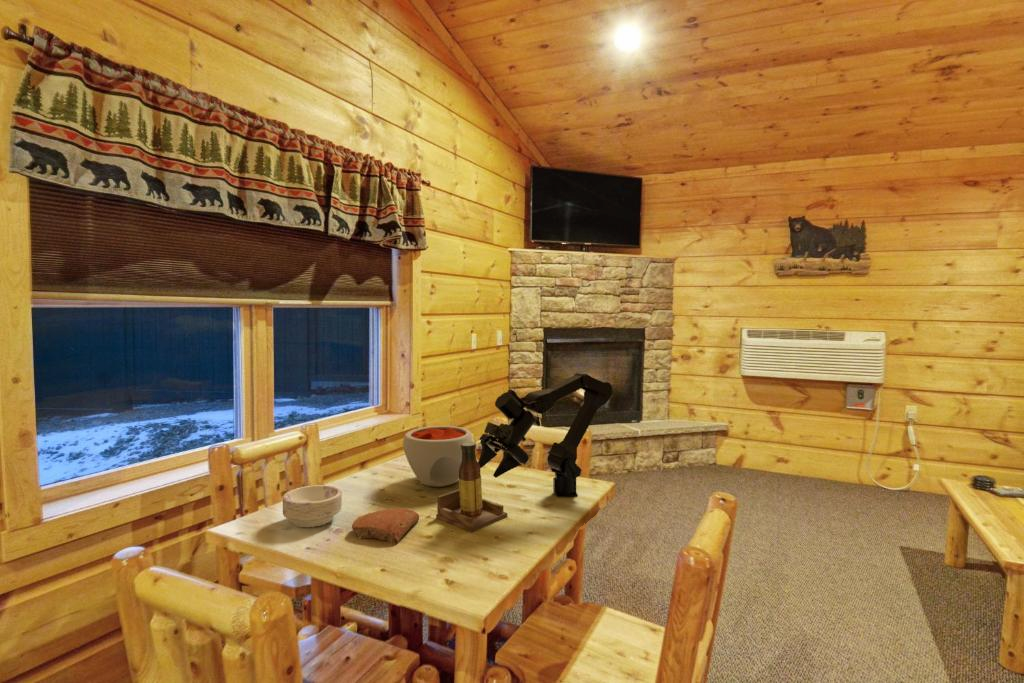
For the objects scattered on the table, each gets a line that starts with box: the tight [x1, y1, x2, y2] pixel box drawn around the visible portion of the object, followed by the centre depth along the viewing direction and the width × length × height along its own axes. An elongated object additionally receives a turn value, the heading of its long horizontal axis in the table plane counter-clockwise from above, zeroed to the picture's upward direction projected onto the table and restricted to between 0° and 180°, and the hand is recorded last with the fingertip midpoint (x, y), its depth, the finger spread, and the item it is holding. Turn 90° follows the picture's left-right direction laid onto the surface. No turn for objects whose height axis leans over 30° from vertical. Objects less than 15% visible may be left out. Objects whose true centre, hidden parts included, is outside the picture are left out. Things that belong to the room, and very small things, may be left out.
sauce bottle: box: [458, 441, 483, 516], centre depth 150 cm, size 6×6×20 cm
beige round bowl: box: [282, 484, 343, 528], centre depth 147 cm, size 15×15×8 cm
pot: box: [402, 425, 475, 488], centre depth 179 cm, size 24×24×18 cm
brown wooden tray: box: [435, 488, 508, 533], centre depth 150 cm, size 14×14×6 cm
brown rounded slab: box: [351, 508, 420, 544], centre depth 142 cm, size 15×6×15 cm
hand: (485, 472), depth 152 cm, fingers open, 9 cm apart
